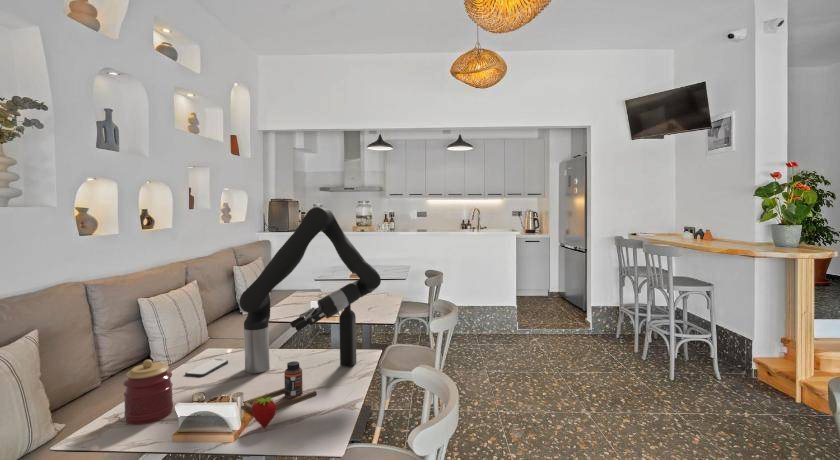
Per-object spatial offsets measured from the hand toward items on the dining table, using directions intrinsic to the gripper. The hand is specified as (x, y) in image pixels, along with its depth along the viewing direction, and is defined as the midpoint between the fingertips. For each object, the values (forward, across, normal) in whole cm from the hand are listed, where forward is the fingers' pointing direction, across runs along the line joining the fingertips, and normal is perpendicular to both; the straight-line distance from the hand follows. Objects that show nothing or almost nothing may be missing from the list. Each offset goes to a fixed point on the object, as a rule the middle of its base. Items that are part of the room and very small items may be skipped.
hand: (293, 327), depth 150 cm
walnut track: (+15, +4, +18) cm, 24 cm away
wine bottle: (-14, -18, +29) cm, 37 cm away
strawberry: (+22, +20, +17) cm, 35 cm away
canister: (+49, -5, +2) cm, 50 cm away
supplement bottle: (+11, +2, +20) cm, 23 cm away
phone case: (+33, -40, +6) cm, 52 cm away
